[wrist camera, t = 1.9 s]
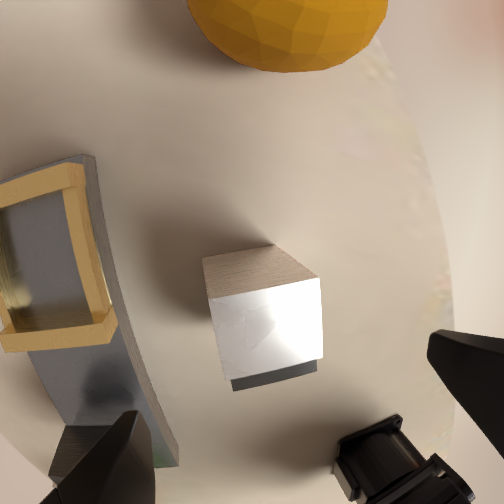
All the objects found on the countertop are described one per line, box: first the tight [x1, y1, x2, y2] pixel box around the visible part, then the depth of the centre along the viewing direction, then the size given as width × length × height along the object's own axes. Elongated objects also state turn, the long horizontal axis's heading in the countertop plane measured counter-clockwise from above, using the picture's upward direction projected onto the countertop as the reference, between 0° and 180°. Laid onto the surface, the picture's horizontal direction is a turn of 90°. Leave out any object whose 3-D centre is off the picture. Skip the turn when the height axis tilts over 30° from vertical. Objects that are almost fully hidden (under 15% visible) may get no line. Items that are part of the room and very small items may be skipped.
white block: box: [202, 245, 323, 391], centre depth 14 cm, size 4×4×6 cm
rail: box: [0, 154, 179, 488], centre depth 12 cm, size 6×20×8 cm, turn 8°
